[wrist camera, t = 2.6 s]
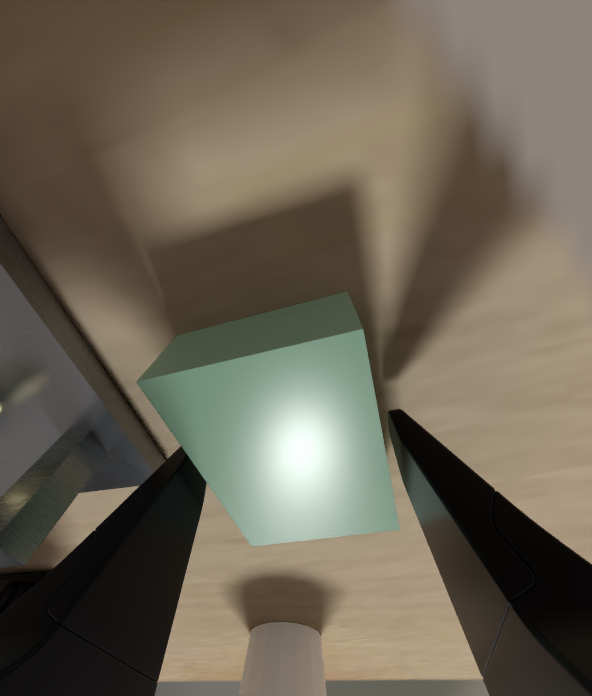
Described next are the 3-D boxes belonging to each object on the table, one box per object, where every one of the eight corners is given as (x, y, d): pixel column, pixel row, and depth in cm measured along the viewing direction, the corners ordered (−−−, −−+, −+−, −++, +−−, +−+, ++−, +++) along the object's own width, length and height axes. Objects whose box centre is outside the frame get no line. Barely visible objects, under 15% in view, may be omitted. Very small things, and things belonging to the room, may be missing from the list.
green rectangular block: (381, 460, 12) (399, 529, 10) (261, 479, 13) (251, 546, 11) (346, 287, 8) (363, 328, 6) (181, 330, 9) (136, 381, 7)
